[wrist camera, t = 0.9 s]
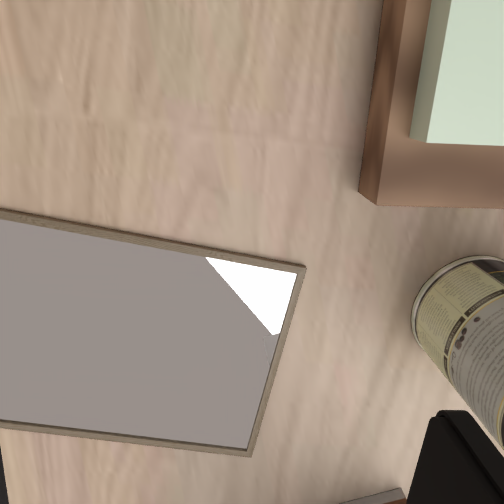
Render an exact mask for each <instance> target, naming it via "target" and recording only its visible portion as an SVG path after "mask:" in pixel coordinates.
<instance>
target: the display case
mask: <svg viewBox="0 0 504 504" xmlns="http://www.w3.org/2000/svg"><path fill="white" fill-rule="evenodd" d="M406 502H407V499H406V497H405V495H404V493H403V491H402V489H401V488H399V489H395V490H391V491H387V492H383V493H379V494H375V495H371V496H368V497H364V498H360V499H356V500H352V501H348V502H344V503H341V504H406Z"/></svg>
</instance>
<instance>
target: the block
mask: <svg viewBox="0 0 504 504" xmlns="http://www.w3.org/2000/svg"><path fill="white" fill-rule="evenodd" d="M409 138H411V139H415V140H418V141H422V142H425V143H444V144H469V145H493V146H504V0H432V2H431V8H430V14H429V20H428V26H427V32H426V38H425V44H424V50H423V56H422V62H421V68H420V74H419V80H418V86H417V93H416V99H415V105H414V111H413V117H412V123H411V129H410V135H409Z"/></svg>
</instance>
